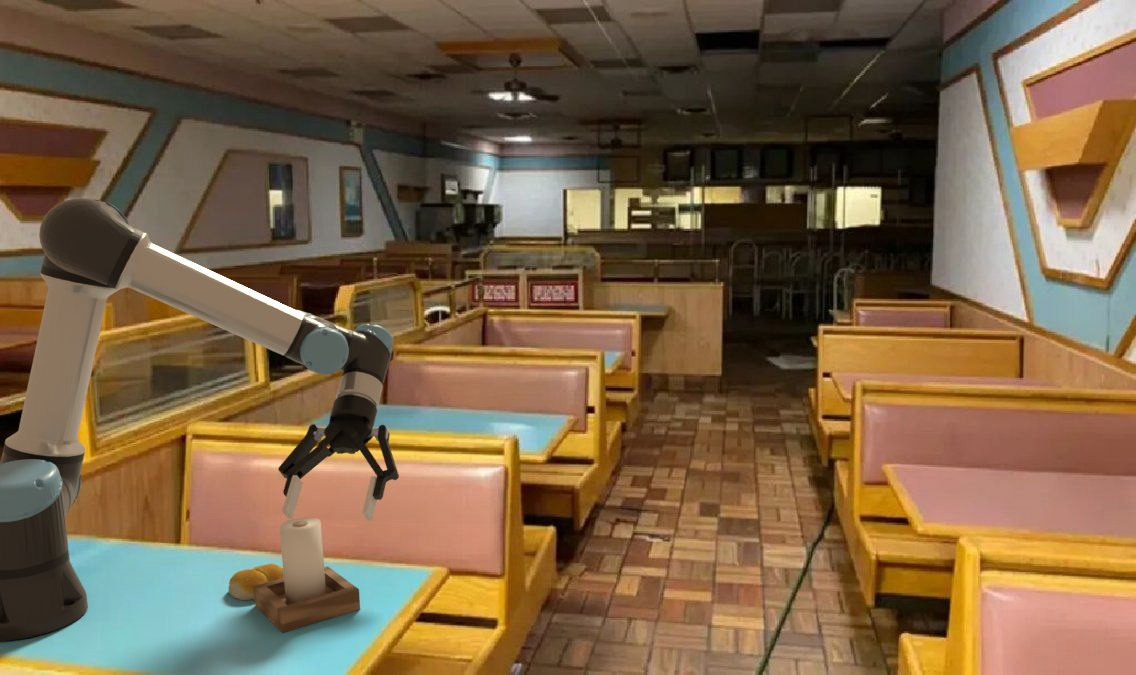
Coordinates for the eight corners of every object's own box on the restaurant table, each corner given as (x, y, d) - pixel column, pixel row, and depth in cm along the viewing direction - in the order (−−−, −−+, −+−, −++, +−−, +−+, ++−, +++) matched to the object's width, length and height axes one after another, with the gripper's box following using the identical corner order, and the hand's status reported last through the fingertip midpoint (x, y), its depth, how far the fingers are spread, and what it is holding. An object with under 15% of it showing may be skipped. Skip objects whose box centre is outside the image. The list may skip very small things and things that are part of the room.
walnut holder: (255, 605, 143) (253, 585, 143) (329, 584, 150) (327, 566, 150) (282, 632, 134) (280, 611, 133) (360, 609, 141) (358, 589, 140)
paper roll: (280, 598, 143) (273, 522, 141) (317, 588, 146) (311, 513, 144) (294, 611, 138) (287, 533, 136) (332, 600, 141) (326, 523, 139)
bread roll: (297, 587, 150) (296, 564, 150) (246, 606, 144) (244, 581, 143) (271, 575, 156) (269, 552, 155) (220, 592, 149) (218, 568, 149)
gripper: (430, 416, 163) (407, 527, 150) (297, 415, 167) (263, 524, 154) (419, 392, 157) (394, 506, 144) (281, 392, 161) (245, 503, 148)
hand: (326, 516), depth 149 cm, fingers open, 13 cm apart
